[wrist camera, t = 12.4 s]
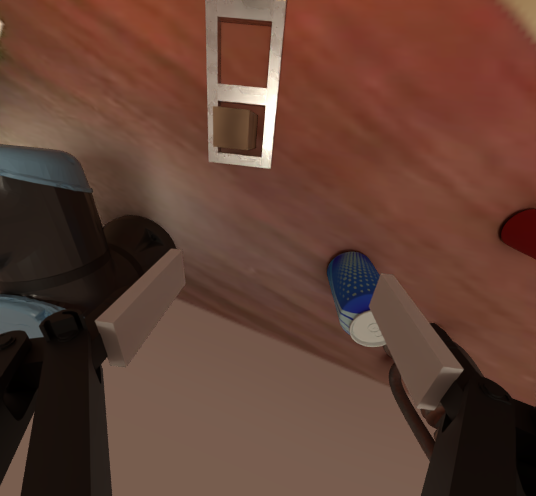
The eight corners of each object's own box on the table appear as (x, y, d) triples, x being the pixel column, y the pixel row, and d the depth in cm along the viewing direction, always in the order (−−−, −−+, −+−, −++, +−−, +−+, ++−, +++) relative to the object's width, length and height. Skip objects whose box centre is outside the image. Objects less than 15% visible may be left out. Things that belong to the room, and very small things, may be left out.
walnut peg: (228, 144, 37) (213, 146, 29) (228, 112, 34) (212, 106, 27) (255, 147, 36) (247, 150, 29) (257, 115, 34) (249, 109, 27)
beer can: (326, 286, 47) (342, 352, 33) (325, 250, 43) (342, 306, 29) (369, 283, 46) (404, 351, 31) (371, 246, 42) (413, 303, 28)
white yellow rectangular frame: (211, 160, 38) (208, 161, 36) (207, -106, 25) (202, -121, 24) (270, 167, 37) (270, 168, 36) (296, -99, 25) (297, -114, 23)
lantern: (456, 334, 49) (745, 676, 18) (394, 369, 56) (528, 666, 25) (424, 307, 47) (690, 646, 16) (363, 347, 54) (467, 644, 22)
